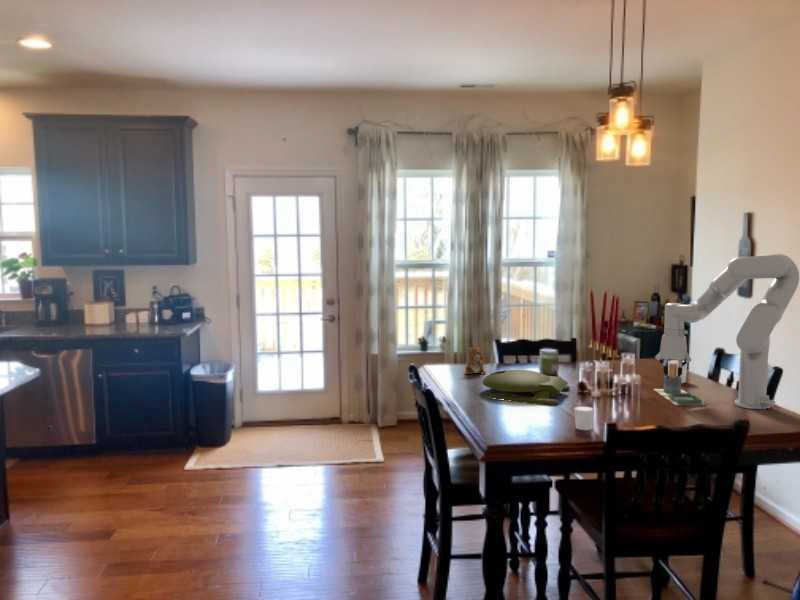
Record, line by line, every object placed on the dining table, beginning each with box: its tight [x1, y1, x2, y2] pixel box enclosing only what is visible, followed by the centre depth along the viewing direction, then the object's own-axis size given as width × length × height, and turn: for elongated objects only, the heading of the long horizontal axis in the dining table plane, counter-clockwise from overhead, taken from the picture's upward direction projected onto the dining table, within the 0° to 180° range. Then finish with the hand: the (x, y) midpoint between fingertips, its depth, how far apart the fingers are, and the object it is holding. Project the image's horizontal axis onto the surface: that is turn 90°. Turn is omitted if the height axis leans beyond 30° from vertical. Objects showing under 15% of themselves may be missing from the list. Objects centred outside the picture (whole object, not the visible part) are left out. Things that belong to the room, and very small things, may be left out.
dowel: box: [668, 364, 677, 378], centre depth 267 cm, size 3×3×12 cm
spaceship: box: [482, 369, 571, 406], centre depth 273 cm, size 35×31×10 cm
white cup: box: [667, 360, 688, 384], centre depth 287 cm, size 8×8×10 cm
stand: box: [653, 375, 708, 408], centre depth 261 cm, size 26×12×8 cm, turn 177°
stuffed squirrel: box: [465, 347, 487, 375], centre depth 316 cm, size 10×14×13 cm
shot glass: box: [573, 405, 595, 431], centre depth 224 cm, size 7×7×7 cm
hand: (672, 375), depth 267 cm, fingers open, 4 cm apart
